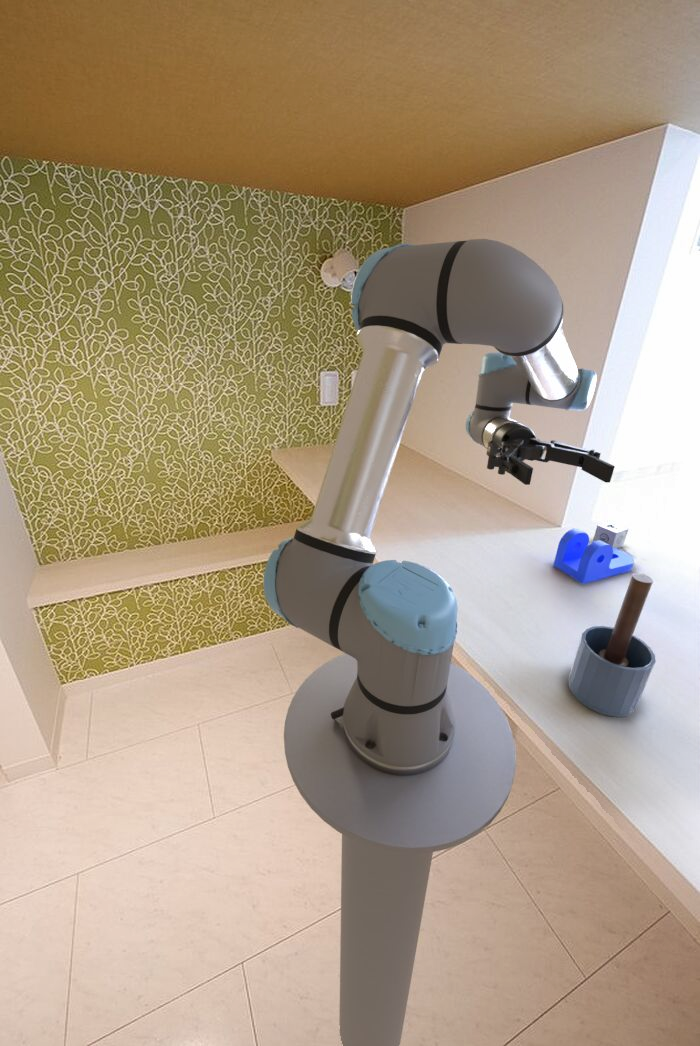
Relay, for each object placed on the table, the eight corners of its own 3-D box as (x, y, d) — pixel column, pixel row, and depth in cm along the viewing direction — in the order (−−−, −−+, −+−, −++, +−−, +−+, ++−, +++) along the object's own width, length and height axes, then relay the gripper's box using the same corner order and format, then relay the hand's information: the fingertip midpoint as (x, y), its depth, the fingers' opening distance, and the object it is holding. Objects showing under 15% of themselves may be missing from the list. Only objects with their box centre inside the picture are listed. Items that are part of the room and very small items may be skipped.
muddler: (599, 698, 65) (639, 586, 56) (583, 679, 68) (620, 571, 60) (622, 696, 65) (666, 585, 57) (606, 677, 69) (645, 569, 60)
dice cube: (604, 538, 114) (609, 521, 112) (622, 546, 110) (628, 528, 108) (592, 542, 112) (597, 525, 110) (610, 550, 108) (616, 533, 106)
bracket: (582, 584, 94) (593, 547, 91) (553, 565, 101) (562, 531, 98) (639, 568, 101) (652, 534, 97) (608, 552, 108) (618, 519, 104)
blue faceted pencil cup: (591, 719, 62) (609, 672, 59) (556, 671, 71) (569, 627, 67) (651, 714, 64) (671, 667, 60) (609, 667, 72) (624, 623, 68)
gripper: (563, 457, 90) (635, 495, 71) (447, 459, 87) (490, 500, 68) (571, 421, 87) (650, 450, 68) (451, 422, 84) (498, 453, 65)
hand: (570, 475), depth 68 cm, fingers open, 13 cm apart
